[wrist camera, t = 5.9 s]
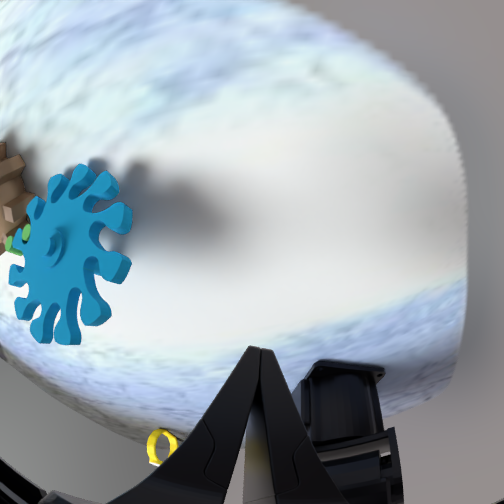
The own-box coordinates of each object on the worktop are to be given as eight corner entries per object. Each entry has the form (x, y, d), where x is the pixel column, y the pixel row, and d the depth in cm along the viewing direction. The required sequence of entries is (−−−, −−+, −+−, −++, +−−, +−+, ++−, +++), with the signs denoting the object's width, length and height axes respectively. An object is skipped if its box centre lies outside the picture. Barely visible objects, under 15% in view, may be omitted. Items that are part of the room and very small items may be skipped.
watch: (185, 439, 33) (178, 472, 28) (170, 437, 34) (163, 469, 29) (163, 425, 30) (154, 462, 25) (148, 423, 31) (138, 458, 26)
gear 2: (149, 156, 11) (89, 382, 9) (191, 208, 17) (153, 367, 14) (28, 163, 13) (-14, 305, 11) (75, 196, 19) (43, 315, 16)
